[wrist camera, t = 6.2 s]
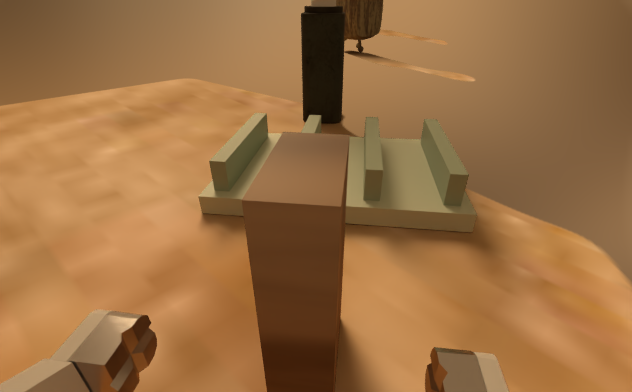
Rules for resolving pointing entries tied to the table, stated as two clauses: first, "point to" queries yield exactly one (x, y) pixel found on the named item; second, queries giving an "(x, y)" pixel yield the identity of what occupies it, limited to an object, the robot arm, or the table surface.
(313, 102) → the candle
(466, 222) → the rack
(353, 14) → the tabletop clock
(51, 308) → the table surface
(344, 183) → the block
